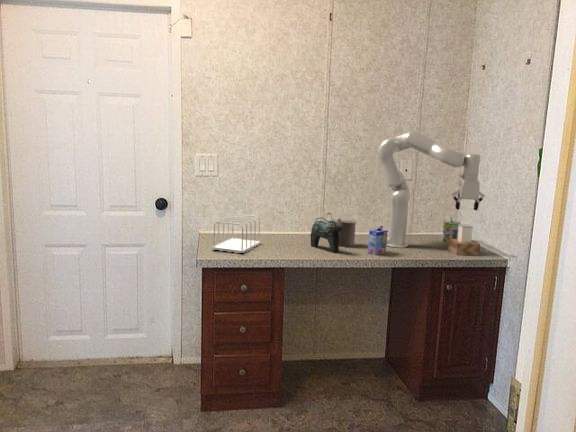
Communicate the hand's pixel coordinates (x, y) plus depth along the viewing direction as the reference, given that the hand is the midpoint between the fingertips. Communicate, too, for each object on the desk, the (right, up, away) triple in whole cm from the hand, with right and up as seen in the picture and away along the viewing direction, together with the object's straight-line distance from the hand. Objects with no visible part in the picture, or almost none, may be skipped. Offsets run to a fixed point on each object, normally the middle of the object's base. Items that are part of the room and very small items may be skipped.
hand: (466, 209), depth 267 cm
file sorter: (-122, -20, -1) cm, 123 cm away
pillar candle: (-63, -20, +12) cm, 67 cm away
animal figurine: (-75, -21, 0) cm, 78 cm away
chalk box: (+1, -18, +31) cm, 36 cm away
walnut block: (0, -23, +4) cm, 23 cm away
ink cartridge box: (-48, -23, -3) cm, 53 cm away
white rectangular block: (0, -17, +3) cm, 17 cm away
